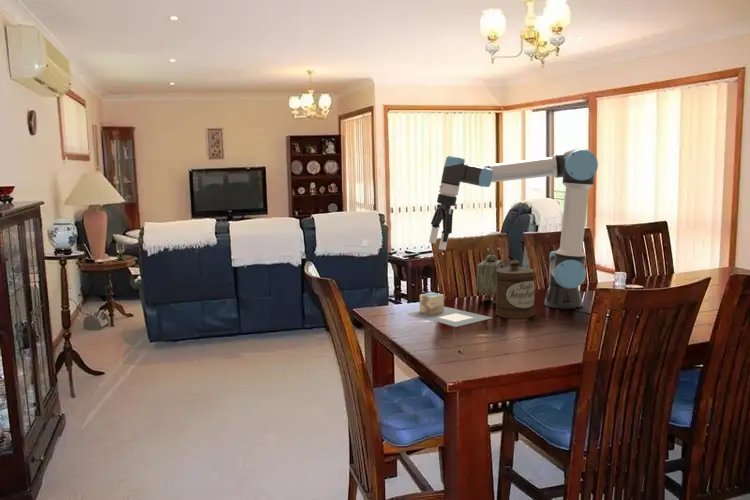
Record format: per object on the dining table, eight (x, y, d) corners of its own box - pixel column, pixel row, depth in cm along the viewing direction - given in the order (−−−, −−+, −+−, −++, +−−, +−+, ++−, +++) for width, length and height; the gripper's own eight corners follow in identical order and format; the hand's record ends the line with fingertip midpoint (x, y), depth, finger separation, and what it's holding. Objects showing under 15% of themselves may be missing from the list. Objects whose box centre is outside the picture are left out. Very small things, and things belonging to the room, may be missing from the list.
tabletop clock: (496, 305, 279) (496, 246, 275) (476, 303, 283) (475, 246, 279) (505, 298, 292) (505, 242, 288) (485, 296, 295) (485, 242, 292)
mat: (492, 318, 256) (492, 317, 256) (455, 327, 244) (455, 326, 244) (442, 306, 278) (442, 306, 278) (406, 314, 266) (406, 313, 266)
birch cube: (444, 311, 268) (443, 294, 267) (431, 314, 264) (431, 297, 263) (432, 308, 274) (432, 292, 273) (419, 311, 270) (419, 294, 269)
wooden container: (512, 320, 251) (512, 264, 248) (488, 313, 264) (488, 259, 261) (542, 315, 258) (542, 260, 255) (517, 308, 271) (517, 256, 268)
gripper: (430, 189, 273) (420, 239, 277) (448, 197, 249) (437, 251, 253) (447, 192, 275) (436, 241, 278) (467, 200, 251) (455, 253, 255)
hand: (437, 246), depth 266 cm, fingers open, 13 cm apart
